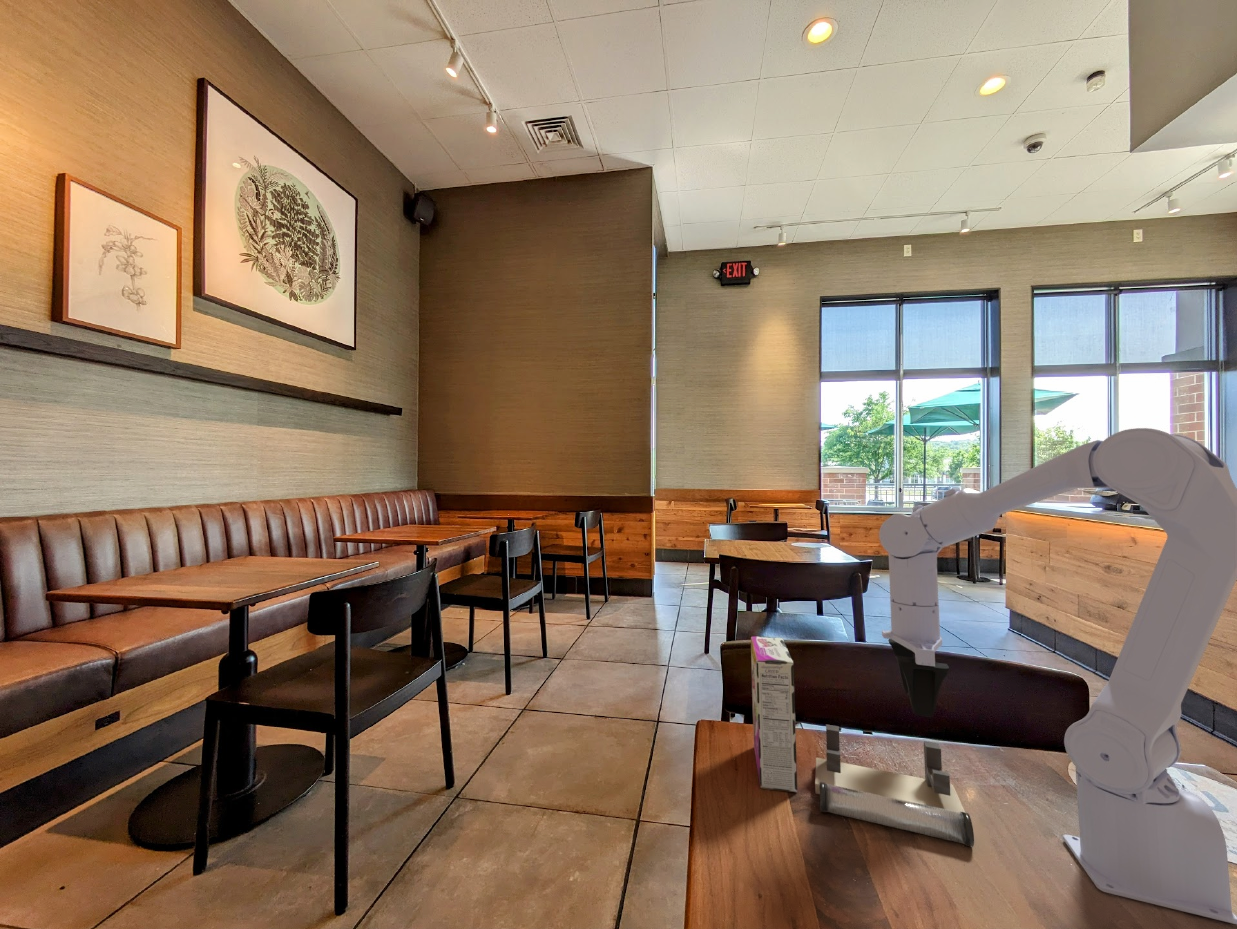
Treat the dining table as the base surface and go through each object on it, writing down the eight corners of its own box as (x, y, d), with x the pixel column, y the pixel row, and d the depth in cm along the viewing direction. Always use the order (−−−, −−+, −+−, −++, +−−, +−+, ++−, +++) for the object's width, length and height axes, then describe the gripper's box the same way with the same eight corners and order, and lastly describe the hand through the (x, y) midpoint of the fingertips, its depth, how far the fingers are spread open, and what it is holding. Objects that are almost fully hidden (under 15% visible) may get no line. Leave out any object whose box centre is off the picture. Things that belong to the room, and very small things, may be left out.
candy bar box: (751, 746, 73) (749, 635, 74) (786, 750, 72) (784, 637, 73) (757, 790, 62) (755, 658, 63) (798, 794, 61) (795, 661, 62)
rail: (967, 835, 54) (965, 807, 54) (974, 853, 51) (973, 823, 51) (820, 802, 59) (819, 776, 60) (820, 816, 57) (819, 789, 57)
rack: (953, 794, 61) (950, 744, 62) (967, 827, 55) (964, 772, 55) (816, 766, 67) (815, 721, 68) (815, 793, 61) (814, 744, 62)
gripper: (876, 590, 75) (879, 681, 74) (887, 610, 62) (891, 720, 61) (929, 594, 72) (933, 688, 71) (952, 615, 59) (958, 731, 58)
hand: (918, 703), depth 66 cm, fingers open, 7 cm apart
